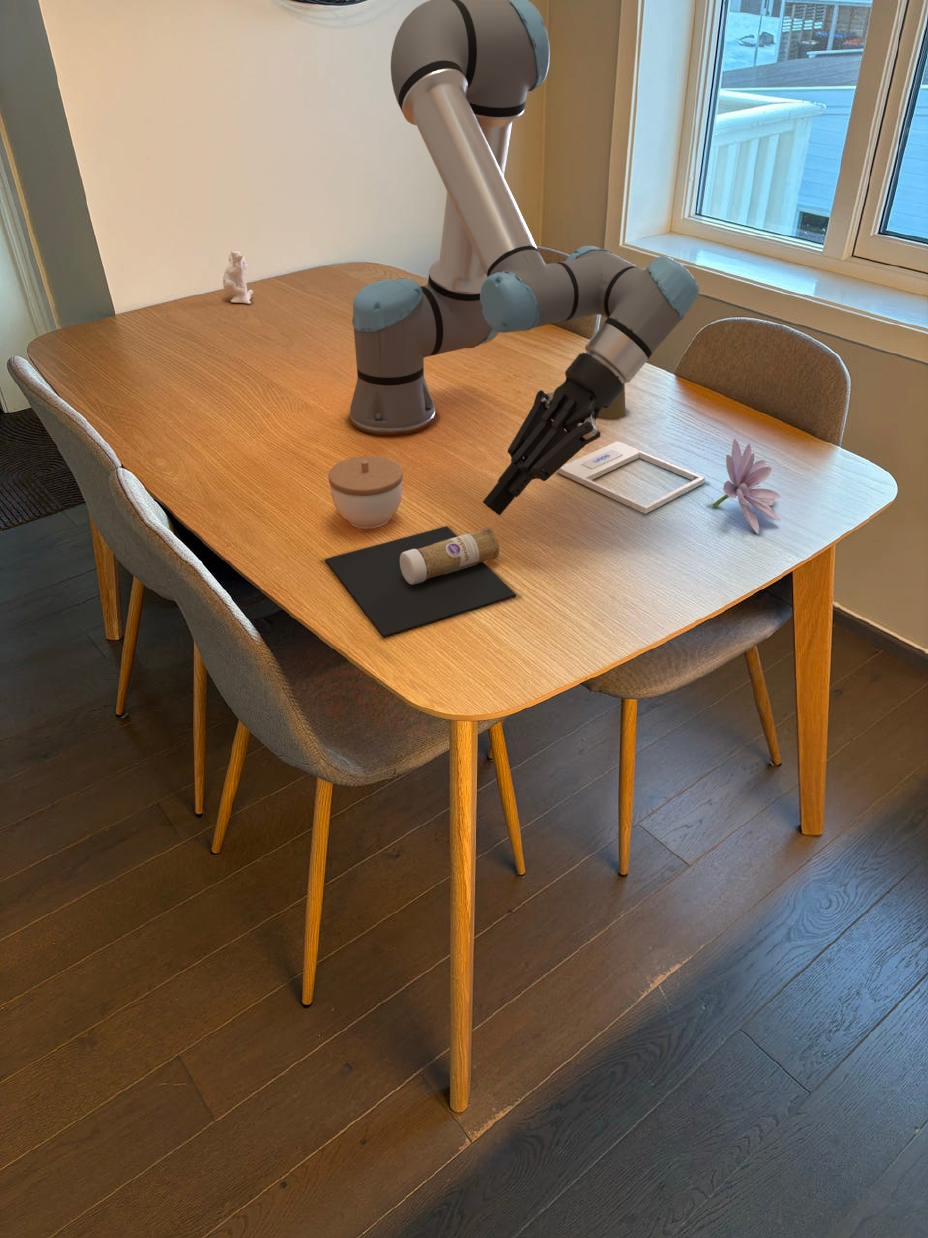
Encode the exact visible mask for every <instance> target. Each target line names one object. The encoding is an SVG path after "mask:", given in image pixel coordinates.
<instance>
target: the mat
mask: <svg viewBox="0 0 928 1238" xmlns="http://www.w3.org/2000/svg"><path fill="white" fill-rule="evenodd" d="M455 537H458V536H457V535H456V533H454V531H452V530H451V529H450V527H448V525H445V526H443V527H439V528H434V529H432V530H428V531H424V532H420V533H416V534H413V535H409V536H405V537H402V538H397V539H395V540H391V541H387V542H383V543H380V544H376V545H372V546H368V547H364V548H361V549H358V550H353V551H350V552H346V553H343V554H339V555H334V556H331V557H328V558H327V557H326V558H325V560H324V561H325V563H326V564H327V565H328V566H329V568H330V569H331V571H332V572H333V573H334V575H335V576H336V577H337V578H338V580H339V581H340V582H341V584H342V585H343V587H344V588H345V589H346V591H347V592H348V593H349V594H350V596H351V597H352V598H353V600H354V601H355V602H356V603H357V605H358V606H359V608H360V609H361V610H362V611H363V613H364V614H365V615H366V617H367V618H368V619H369V621H370V622H371V623H372V624H373V626H374V627H375V629H376V630H377V631H378V632H379V634H380V635H381V636H382V638H384V639H385V638H388V637H392V636H395V635H398V634H402V633H404V632H407V631H411V630H414V629H417V628H420V627H423V626H427V625H430V624H433V623H437V622H440V621H443V620H447V619H449V618H453V617H456V616H459V615H463V614H465V613H468V612H472V611H475V610H478V609H482V608H485V607H488V606H492V605H494V604H497V603H500V602H503V601H507V600H510V599H514V598H516V597H517V594H516V593H515V592H514V591H513V590H512V589H511V588H510V587H509V586H508V585H507V584H506V583H505V582H504V581H503V580H502V579H501V578H500V577H499V576H498V575H497V574H496V573H495V572H494V571H493V570H492V569H491V568H490V567H489V566H488V565H487V564H486V563H485V561H484V562H481V563H478V564H476V565H473V566H470V567H467V568H464V569H461V570H458V571H454V572H451V573H448V574H445V575H439V576H436V577H433V578H429V579H427V580H425V581H424V582H421V583H418V584H414V585H411V584H409V583H408V582H407V581H406V580H405V578H404V576H403V574H402V571H401V567H400V555H401V554H402V553H403V552H405V551H408V550H411V549H420V548H423V547H426V546H430V545H432V544H435V543H438V542H441V541H445V540H448V539H451V538H455Z"/></svg>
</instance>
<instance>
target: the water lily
mask: <svg viewBox="0 0 928 1238" xmlns="http://www.w3.org/2000/svg"><path fill="white" fill-rule="evenodd" d="M725 456H726V457H725V465H726V471H727V475H728V477H729V480H726V481H725V482H724V484H723V486H722V490H723V492H724V494H725V495H723V496H721V497H720V498H719V499H717V500H716V501H715V502H714V503H712V507H713V508H714V509H715V508H717V507H718V506H719V505H720V504H722V503H723V502H724V501H726V500H727V499H728V498H732V499H736V498H737V500H738V503H739V508H740V510H741V512H742V515H743V516H744V518H745V520H746V522H747V523H748V525H749V526H750V527H751V529H752V530H753V531H754V532H755V534H757V535H758V534H759V533H760V525H759V521H758V518H757V515H756V514H755V511H754V510H752V507H753V508H754V509H755V510H757V511H758V512H760V513H761V514H762V515H764V516H766V517H768V518H770V519H772V520H774V521H777V522H780V518H779V516H778V515H777V513H776V512H775V511H773V509H772V508H771V506H773V505H774V504H775V503H776V499H780V498H781V497H782V495H780V493H778V492H776V491H774V490H772V489H769V488H760V487H762V485H760V484H761V483H764V482H765V481H766V480H767V479H768V478H769V476H770V475H771V474H772V468H771V467H770V466H767V463H766V460H764V459H760V460H758V461H756V462H755V452H752V447H751V444H750V443H748V444H747V445H746V447H745V449H744V450H743V452H742V450H741V446H740V444H739V442H738V440H737V439H736V438H733V441H732V447H731V455H730V454H726V455H725ZM755 487H756V488H755ZM751 506H752V507H751Z"/></svg>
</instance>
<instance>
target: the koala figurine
mask: <svg viewBox="0 0 928 1238" xmlns="http://www.w3.org/2000/svg"><path fill="white" fill-rule="evenodd" d="M246 259H247V258H246V257H245V256H244V255H242V254H241V251H240V250H231V251H230V254H228V262H229V264H228V265H227V267H226V268H225V270H224V274H223V277H222V286H223V289H224V291H225V292H226V293H228V294H235V295H233V296H232V299H230V302H231V303H236V304H237V303H240V304H248V305H249V304H252V302H251V299H252V295H253V293H254V290H252V289H249V290H248V286H247V281H246V270H247V269H248V267H249V265H248V264H247V261H246Z"/></svg>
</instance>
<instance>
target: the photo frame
mask: <svg viewBox="0 0 928 1238" xmlns="http://www.w3.org/2000/svg"><path fill="white" fill-rule="evenodd" d="M637 459H642V460H644V461H646V462H649V463H651V464H653V465H655V466H658V467H660V468H662V469H665V470H668V471H669V472H671V473H675V474H677V475H680V476H681V477H684V478H686V479H688V480H691V481H690V482H687V483H686V484H684V485H682V486H679V487H678V488H676V489H674V490H672V491H670V492H668V493H666V494H664V495H662V496H660V497H659V498H657V499H655V500H653V501H650V502H649V503H647V504H643V503H641V502H639V501H637V500H635V499H632V498H631V497H628V496H626V495H624V494H622V493H619V492H617V491H615V490H613V489H611V488H609V487H607V486H604V485H602V484H600V483H598V482H595V481H594V480H595V479H597V478H599V477H602V476H603V475H605V474H608V473H610V472H612V471H614V470H616V469H618V468H620V467H622V466H625V465H626V464H629V463H631V462H633V461H635V460H637ZM557 473H558V474H559V475H562V476H564V477H566V478H568V479H570V480H572V481H574V482H577V483H579V484H581V485H583V486H585V487H587V488H589V489H591V490H594V491H596V492H598V493H600V494H602V495H603V496H606V497H608V498H611V499H612V500H615V501H617V502H619V503H621V504H623V505H626V506H628V507H630V508H632V509H634V510H636V511H638V512H640V513H643V514H645V515H646V514H648V513H649V512H652V511H654V510H656V509H657V508H660V507H661V506H663V505H665V504H667V503H669V502H671V501H673V500H675V499H677V498H678V497H680V496H682V495H684V494H687V493H688V492H690V491H692V490H694V489H696V488H698V487H699V486H701V485H703V484H705V481H706V477H705V476H703V475H700V474H697V473H695V472H693V471H690V470H688V469H686V468H684V467H681V466H678V465H676V464H673V463H671V462H669V461H666V460H663V459H661V458H659V457H657V456H654V455H652V454H650V453H648V452H645V451H643V450H640V449H638V448H635V447H633V446H631V445H629V444H626V443H623V442H621V441H620V440H619V441H618V440H616V441H613V442H612V443H610V444H608V445H606V446H605V445H604V446H603V447H601V448H599V449H596V450H594V451H592V452H590V453H588V454H586V455H583V456H580V457H578V458H576V459H574V460H572V461H570V462H567V463H565V464H564V465H563V466H562V467H561V468H560V469H558V470H557Z"/></svg>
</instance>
